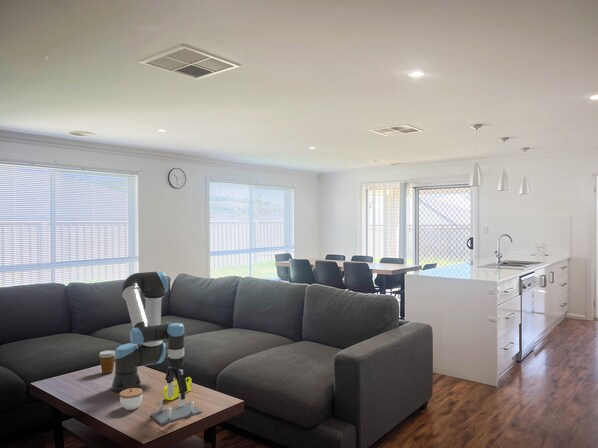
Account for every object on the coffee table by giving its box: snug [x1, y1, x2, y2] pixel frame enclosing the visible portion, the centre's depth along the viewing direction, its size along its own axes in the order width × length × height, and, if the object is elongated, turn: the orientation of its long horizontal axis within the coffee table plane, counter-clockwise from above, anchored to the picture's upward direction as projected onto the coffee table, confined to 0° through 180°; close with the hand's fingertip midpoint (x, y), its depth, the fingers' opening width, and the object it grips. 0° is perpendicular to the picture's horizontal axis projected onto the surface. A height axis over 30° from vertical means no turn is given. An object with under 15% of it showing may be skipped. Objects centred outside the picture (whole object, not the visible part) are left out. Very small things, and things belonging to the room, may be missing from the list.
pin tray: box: [150, 400, 203, 426], centre depth 213 cm, size 13×20×6 cm, turn 128°
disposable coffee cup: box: [98, 349, 115, 374], centre depth 275 cm, size 10×10×12 cm
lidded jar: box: [119, 387, 144, 411], centre depth 222 cm, size 11×11×9 cm
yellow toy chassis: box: [163, 376, 193, 401], centre depth 237 cm, size 16×6×8 cm, turn 154°
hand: (176, 401), depth 213 cm, fingers open, 13 cm apart
